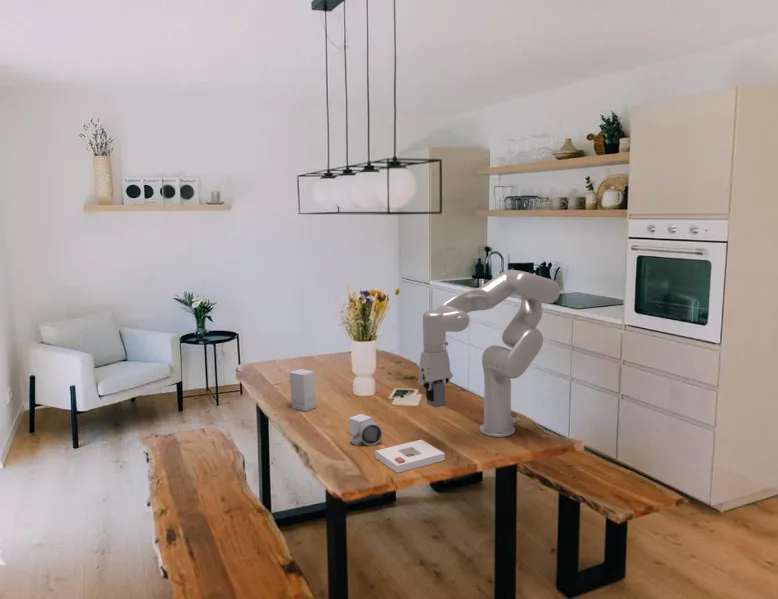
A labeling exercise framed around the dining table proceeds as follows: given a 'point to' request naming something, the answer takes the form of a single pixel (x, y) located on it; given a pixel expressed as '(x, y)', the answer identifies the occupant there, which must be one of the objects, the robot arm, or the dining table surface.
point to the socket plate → (400, 462)
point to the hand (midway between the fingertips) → (435, 398)
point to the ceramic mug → (367, 433)
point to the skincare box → (303, 389)
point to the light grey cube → (356, 423)
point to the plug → (438, 394)
